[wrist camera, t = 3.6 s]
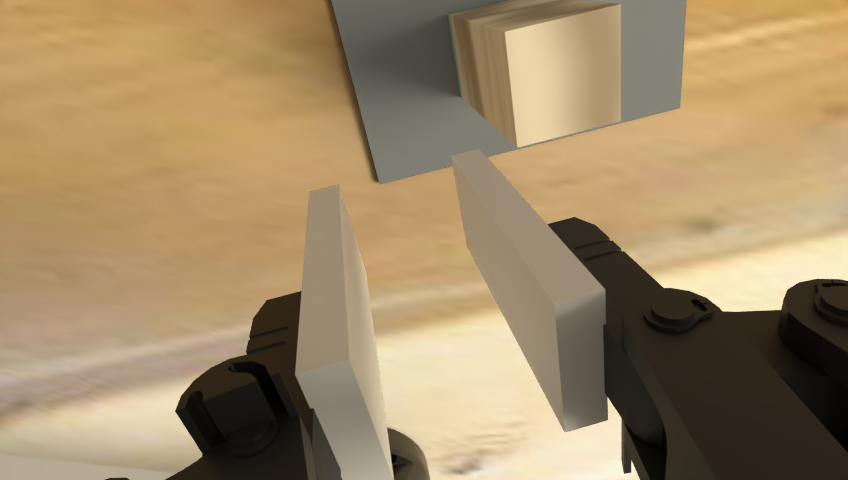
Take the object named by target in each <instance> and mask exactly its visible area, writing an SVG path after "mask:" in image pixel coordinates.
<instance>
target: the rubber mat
mask: <svg viewBox="0 0 848 480" xmlns="http://www.w3.org/2000/svg"><path fill="white" fill-rule="evenodd" d="M501 1H505V0H331V2H332V5H333V9H334V13H335V17H336V21H337V24H338V28H339V32H340V36H341V40H342V43H343V47H344V51H345V55H346V59H347V62H348V66H349V70H350V74H351V78H352V81H353V85H354V89H355V93H356V97H357V100H358V104H359V108H360V112H361V116H362V119H363V123H364V127H365V131H366V135H367V138H368V142H369V146H370V150H371V154H372V157H373V161H374V165H375V169H376V173H377V176H378V180H379V184H383V183H387V182H391V181H395V180H399V179H403V178H407V177H411V176H415V175H419V174H423V173H427V172H431V171H434V170H438V169H442V168H446V167H450V166H453V165H452V159H451V156H453V155H457V154H461V153H465V152H469V151H472V150H476V149H480V150H481V151H482V152H483V153H484V154H485V156H486V157H489V156H493V155H497V154H501V153H505V152H509V151H513V150H517V149H521V148H525V147H529V146H533V145H537V144H541V143H545V142H548V141H552V140H556V139H560V138H564V137H568V136H572V135H576V134H580V133H584V132H588V131H592V130H596V129H600V128H603V127H607V126H611V125H615V124H619V123H623V122H627V121H631V120H635V119H639V118H643V117H647V116H651V115H655V114H658V113H662V112H666V111H670V110H674V109H678V108H680V101H681V84H682V67H683V51H684V34H685V17H686V1H687V0H583V1H594V2H605V3H616V4H621V122H617V123H613V124H609V125H605V126H601V127H597V128H593V129H589V130H585V131H581V132H577V133H573V134H569V135H566V136H562V137H558V138H554V139H550V140H546V141H542V142H538V143H534V144H530V145H526V146H522V147H518V148H517V147H516V146H515V145H514V144H513V143H512V142H510V141H509V140H508V139H507V138H506V137H505V136H504V135H503V134H501V133H500V132H499V131H498V130H497V129H496V128H495V127H494V126H492V125H491V124H490V123H489V122H488V121H487V120H486V119H485V118H483V117H482V116H481V115H480V114H479V113H478V112H477V111H476V110H474V109H473V108H472V107H471V106H470V105H469V104H468V103H467V102H466V101H464V100H463V99H462V98H461V97H460V91H459V85H458V79H457V73H456V66H455V60H454V54H453V48H452V41H451V35H450V29H449V23H448V16H447V14H450V13H454V12H459V11H463V10H467V9H471V8H476V7H480V6H484V5H488V4H492V3H497V2H501Z"/></svg>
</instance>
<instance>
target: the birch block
mask: <svg viewBox="0 0 848 480" xmlns="http://www.w3.org/2000/svg"><path fill="white" fill-rule="evenodd" d="M447 16H448V23H449V29H450V35H451V41H452V48H453V54H454V60H455V66H456V73H457V79H458V85H459V91H460V97H461V98H462V99H463V100H464V101H466V102H467V103H468V104H469V105H470V106H471V107H472V108H473V109H474V110H476V111H477V112H478V113H479V114H480V115H481V116H482V117H483V118H485V119H486V120H487V121H488V122H489V123H490V124H491V125H492V126H494V127H495V128H496V129H497V130H498V131H499V132H500V133H501V134H503V135H504V136H505V137H506V138H507V139H508V140H509V141H510V142H512V143H513V144H514V145H515V146H516V147H517V148H518V147H522V146H526V145H530V144H534V143H538V142H542V141H546V140H550V139H554V138H558V137H562V136H566V135H569V134H573V133H577V132H581V131H585V130H589V129H593V128H597V127H601V126H605V125H609V124H613V123H617V122H621V4H616V3H605V2H594V1H583V0H505V1H501V2H497V3H492V4H488V5H484V6H480V7H476V8H471V9H467V10H463V11H459V12H454V13H450V14H447Z"/></svg>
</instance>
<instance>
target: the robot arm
mask: <svg viewBox="0 0 848 480" xmlns="http://www.w3.org/2000/svg"><path fill="white" fill-rule="evenodd" d="M451 159H452V165H453V170H454V176H455V181H456V187H457V193H458V198H459V204H460V209H461V215H462V220H463V226H464V231H465V237H466V243H467V247H468V249H469V251H470V253H471V254H472V256H473V258H474V260H475V262H476V264H477V266H478V268H479V270H480V272H481V274H482V275H483V277H484V279H485V281H486V283H487V285H488V287H489V289H490V291H491V293H492V295H493V296H494V298H495V300H496V302H497V304H498V306H499V308H500V310H501V312H502V314H503V316H504V317H505V319H506V321H507V323H508V325H509V327H510V329H511V331H512V333H513V335H514V336H515V338H516V340H517V342H518V344H519V346H520V348H521V350H522V352H523V354H524V356H525V357H526V359H527V361H528V363H529V365H530V367H531V369H532V371H533V373H534V375H535V377H536V378H537V380H538V382H539V384H540V386H541V388H542V390H543V392H544V394H545V396H546V397H547V399H548V401H549V403H550V405H551V407H552V409H553V411H554V413H555V415H556V417H557V418H558V420H559V422H560V424H561V426H562V428H563V430H564V432H568V431H571V430H575V429H578V428H582V427H585V426H589V425H592V424H596V423H599V422H602V421H606V420H608V405H607V397H608V398H609V400H610V401H611V403H612V404H613V406H614V407H615V409H616V410H617V412H618V413H619V414H620V416H621V417H622V465H623V471H624V473H631V460H632V462H633V464H634V467H635V469H636V471H637V473H638V476H639V478H640V480H848V281H845V280H840V279H815V280H810V281H805V282H800V283H798V284H796V285H795V286H793V287H791V288H790V289H788V290H787V292H786V295H785V297H784V300H783V305H782V310H773V311H748V312H722V311H721V309H720V308H719V307H717V306H716V305H715V304H713V303H712V302H711V301H710V300H708V299H707V298H705V297H703V296H700V295H698V294H695V293H693V292H690V291H685V290H679V289H673V288H663V287H662V286H661V285H660V284H659V283H658V282H657V281H655V280H654V279H653V278H652V277H651V276H650V275H649V274H648V273H647V272H646V271H645V270H644V269H642V268H641V267H640V266H639V265H638V264H637V263H636V262H635V261H634V260H633V259H632V258H631V257H629V256H628V255H627V254H626V253H625V252H624V251H623V252H622V251H621V248H620V247H619V246H617V245H616V244H615V243H614V242H613V241H610V239H609V237H608V236H607V235H606V234H604V233H603V232H602V231H601V230H600V229H599V228H598V227H597V226H596V225H593V224H591V223H588V222H586V221H583V220H581V219H578V218H576V217H573V218H569V219H565V220H562V221H558V222H554V223H550V224H546V223H545V222H544V220H543V219H542V218H541V217H540V216H539V215H538V214H537V213H536V211H535V210H534V209H533V208H532V207H531V206H530V205H529V204H528V203H527V201H526V200H525V199H524V198H523V197H522V196H521V195H520V194H519V192H518V191H517V190H516V189H515V188H514V187H513V186H512V185H511V183H510V182H509V181H508V180H507V179H506V178H505V177H504V176H503V175H502V173H501V172H500V171H499V170H498V169H497V168H496V167H495V166H494V164H493V163H492V162H491V161H490V160H489V159H488V158H487V157H486V156H485V154H484V153H483V152H482V151H481V150H480V149H476V150H472V151H469V152H465V153H461V154H457V155H453V156H451ZM249 337H250V340H249V341H248V345H247V350H246V353H247V355H244V356H240V357H235V358H231V359H228V360H226V361H224V362H222V363H220V364H218V365H216V366H214V367H212V368H210V369H209V370H207V371H206V372H205V373H203V374H202V375H201V376H200V377H198V378H197V379H196V380H194V381H193V382H192V384H191V385H190V386H189V387H188V388H187V390H186V391H185V392H184V393H183V394H182V396H181V398H180V400H179V403H178V405H177V408H176V410H175V412H176V413H177V415H178V416H179V418H180V419H181V421H182V422H183V424H184V426H185V427H186V429H187V430H188V432H189V433H190V435H191V436H192V438H193V439H194V441H195V443H196V444H197V446H198V447H199V449H200V450H201V452H202V457H201V458H200V459H199V460H198V461H196V462H195V463H193V464H192V465H190V466H188V467H187V468H185V469H184V470H182V471H180V472H178V473H176V474H175V475H173V476H171V477H169V478H167V479H166V480H430V476H429V471H428V466H427V462H426V458H425V456H424V454H423V452H422V450H421V449H420V448H419V446H418V445H417V444H416V443H415V442H414V441H412V440H411V439H410V438H408V437H407V436H405V435H403V434H401V433H399V432H397V431H394V430H391V429H388V428H387V424H386V417H385V409H384V402H383V395H382V387H381V380H380V372H379V365H378V358H377V350H376V343H375V335H374V328H373V321H372V313H371V306H370V298H369V291H368V284H367V276H366V271H365V268H364V265H363V261H362V258H361V255H360V252H359V248H358V245H357V242H356V239H355V235H354V232H353V229H352V226H351V222H350V219H349V216H348V213H347V209H346V206H345V203H344V200H343V196H342V193H341V190H340V187H339V184H338V185H334V186H330V187H326V188H322V189H318V190H315V191H311V192H309V202H308V215H307V228H306V241H305V254H304V266H303V279H302V291H300V292H296V293H292V294H289V295H285V296H281V297H277V298H274V299H270V300H267V301H266V302H265V303H264V305H263V306H262V307H261V309H260V310H259V311H258V313H257V314H256V315H255V317H254V318H253V322H252V327H251V331H250V336H249ZM106 480H129V479H128V478H109V479H106Z"/></svg>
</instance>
